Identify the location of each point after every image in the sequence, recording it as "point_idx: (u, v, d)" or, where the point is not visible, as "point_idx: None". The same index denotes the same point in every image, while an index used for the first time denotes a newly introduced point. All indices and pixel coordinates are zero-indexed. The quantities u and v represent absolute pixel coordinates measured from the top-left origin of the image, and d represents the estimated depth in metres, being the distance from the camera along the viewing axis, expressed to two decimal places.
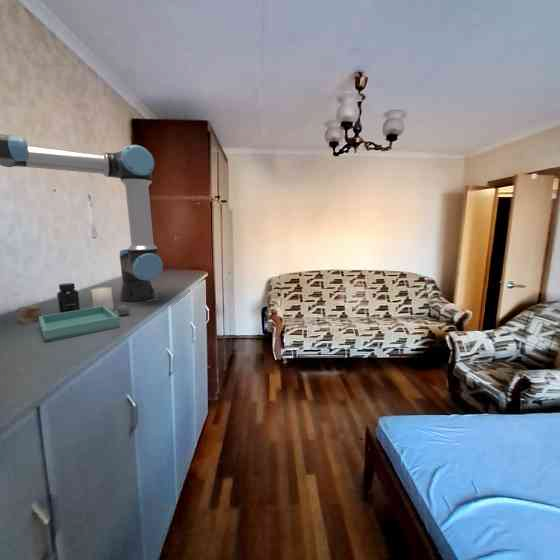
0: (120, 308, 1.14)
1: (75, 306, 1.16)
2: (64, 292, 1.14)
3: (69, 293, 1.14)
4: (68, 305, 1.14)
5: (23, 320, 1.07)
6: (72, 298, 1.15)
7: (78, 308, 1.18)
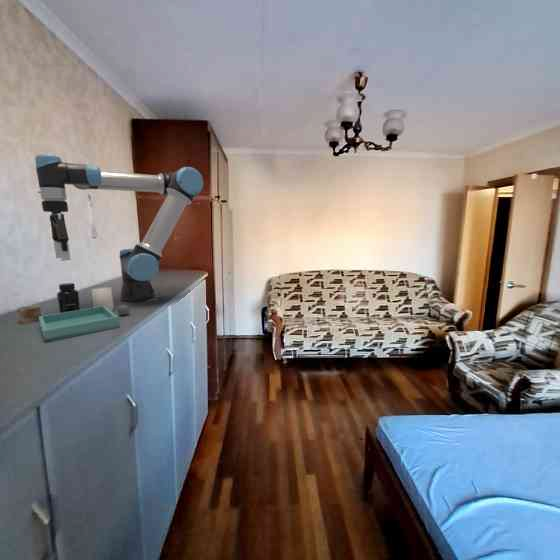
0: (120, 308, 1.14)
1: (75, 306, 1.16)
2: (64, 292, 1.14)
3: (69, 293, 1.14)
4: (68, 305, 1.14)
5: (23, 320, 1.07)
6: (72, 298, 1.15)
7: (78, 308, 1.18)
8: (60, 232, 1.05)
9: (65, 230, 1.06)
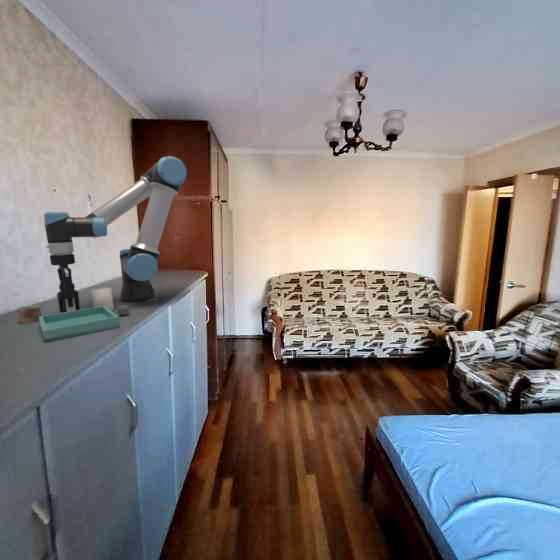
0: (120, 308, 1.14)
1: (75, 306, 1.16)
2: (64, 292, 1.14)
3: None
4: None
5: (23, 320, 1.07)
6: None
7: (78, 308, 1.18)
8: (67, 291, 1.11)
9: (72, 288, 1.11)
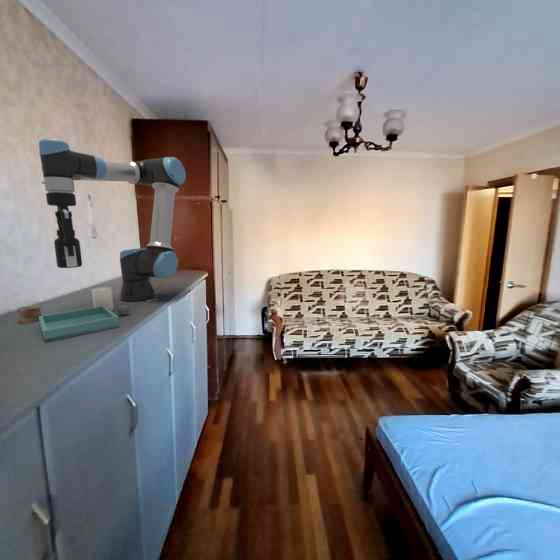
0: (120, 308, 1.14)
1: None
2: (62, 238, 0.95)
3: None
4: None
5: (23, 320, 1.07)
6: None
7: (79, 259, 0.99)
8: (66, 235, 0.92)
9: (72, 232, 0.93)
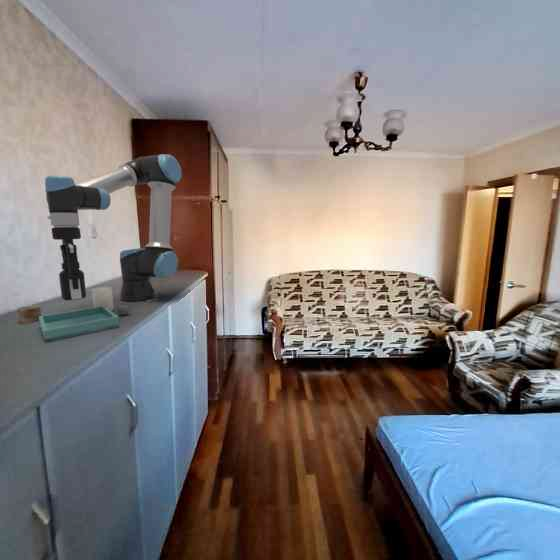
0: (120, 308, 1.14)
1: None
2: (67, 271, 0.97)
3: None
4: None
5: (23, 320, 1.07)
6: None
7: (83, 291, 1.01)
8: (71, 269, 0.94)
9: (77, 266, 0.95)
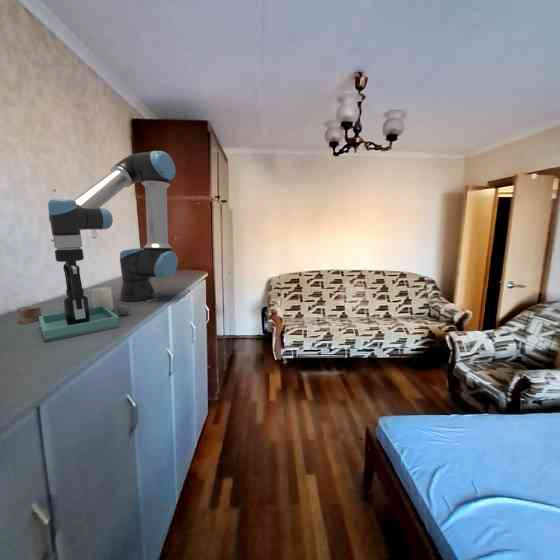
0: (120, 308, 1.14)
1: None
2: None
3: None
4: None
5: (23, 320, 1.07)
6: None
7: (87, 316, 1.03)
8: (75, 290, 0.94)
9: (80, 287, 0.95)
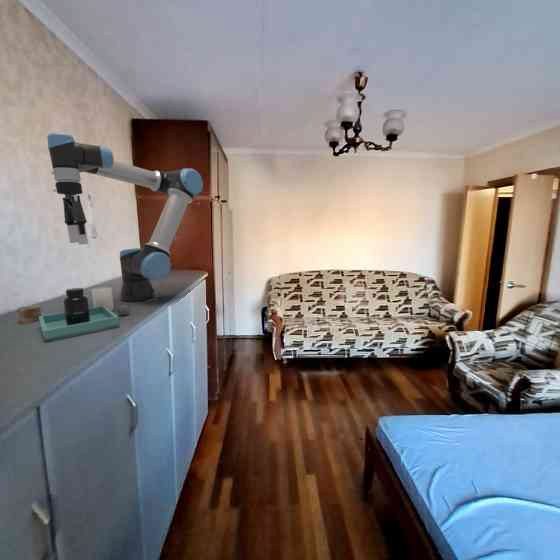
0: (120, 308, 1.14)
1: (84, 314, 1.01)
2: (72, 299, 0.99)
3: (78, 300, 0.99)
4: (76, 314, 0.99)
5: (23, 320, 1.07)
6: (81, 306, 1.00)
7: (87, 317, 1.03)
8: (77, 214, 1.01)
9: (82, 212, 1.02)
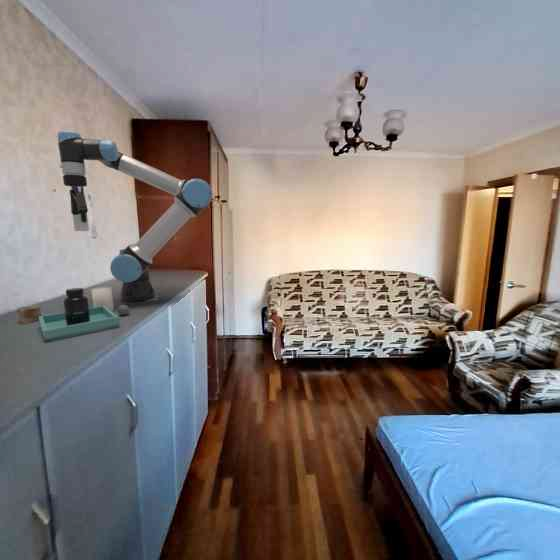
0: (120, 308, 1.14)
1: (84, 314, 1.01)
2: (72, 299, 0.99)
3: (78, 300, 0.99)
4: (76, 314, 0.99)
5: (23, 320, 1.07)
6: (81, 306, 1.00)
7: (87, 317, 1.03)
8: (80, 204, 1.12)
9: (84, 202, 1.13)
